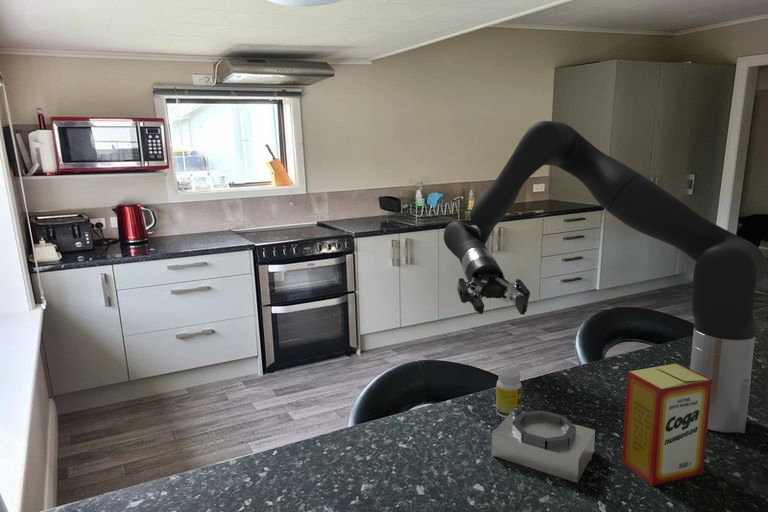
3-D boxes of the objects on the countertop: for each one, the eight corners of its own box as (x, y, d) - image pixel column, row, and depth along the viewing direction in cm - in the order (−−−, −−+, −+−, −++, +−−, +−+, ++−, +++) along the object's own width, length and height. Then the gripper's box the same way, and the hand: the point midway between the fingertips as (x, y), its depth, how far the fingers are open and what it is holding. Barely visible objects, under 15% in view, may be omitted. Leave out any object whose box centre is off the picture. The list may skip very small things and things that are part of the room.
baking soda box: (652, 485, 79) (659, 386, 76) (621, 461, 85) (627, 369, 82) (702, 473, 82) (712, 377, 78) (669, 451, 88) (677, 361, 85)
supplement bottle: (521, 420, 99) (522, 378, 98) (496, 418, 100) (496, 377, 98) (520, 408, 104) (521, 368, 102) (496, 406, 105) (496, 366, 103)
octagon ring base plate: (593, 451, 88) (595, 423, 87) (577, 483, 80) (578, 452, 79) (513, 428, 96) (514, 402, 95) (491, 455, 88) (491, 426, 87)
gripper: (452, 254, 115) (470, 293, 101) (515, 256, 117) (541, 294, 103) (448, 284, 119) (464, 326, 104) (509, 285, 120) (533, 326, 106)
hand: (503, 310), depth 103 cm, fingers open, 8 cm apart
